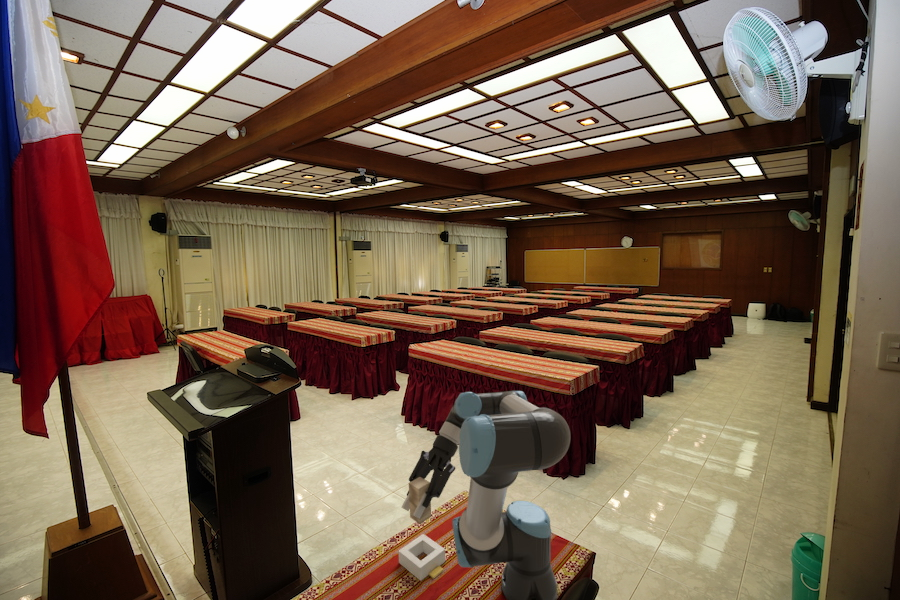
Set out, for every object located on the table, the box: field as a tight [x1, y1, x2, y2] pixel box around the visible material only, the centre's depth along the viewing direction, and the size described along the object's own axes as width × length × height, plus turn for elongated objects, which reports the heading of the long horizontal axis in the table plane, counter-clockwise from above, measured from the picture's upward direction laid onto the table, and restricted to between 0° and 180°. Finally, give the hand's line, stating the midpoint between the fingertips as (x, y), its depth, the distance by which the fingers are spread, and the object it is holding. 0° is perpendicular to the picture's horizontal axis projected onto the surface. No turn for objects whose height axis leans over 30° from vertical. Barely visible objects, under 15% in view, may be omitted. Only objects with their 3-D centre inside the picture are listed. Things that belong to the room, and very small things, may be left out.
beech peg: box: [408, 477, 432, 525], centre depth 119 cm, size 4×4×11 cm
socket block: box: [398, 533, 446, 582], centre depth 120 cm, size 12×10×4 cm
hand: (410, 512), depth 117 cm, fingers closed on beech peg, 4 cm apart
